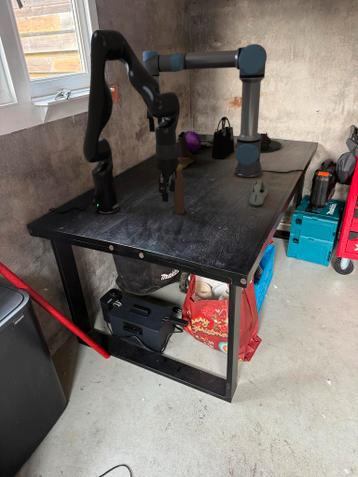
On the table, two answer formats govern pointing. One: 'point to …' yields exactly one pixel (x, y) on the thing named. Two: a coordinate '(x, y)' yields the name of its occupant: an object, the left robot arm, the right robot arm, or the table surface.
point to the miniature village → (268, 144)
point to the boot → (184, 151)
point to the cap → (179, 167)
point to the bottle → (179, 194)
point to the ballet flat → (258, 193)
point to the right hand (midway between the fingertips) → (156, 128)
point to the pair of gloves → (207, 141)
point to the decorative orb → (193, 141)
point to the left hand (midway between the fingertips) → (168, 196)
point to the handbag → (223, 140)
